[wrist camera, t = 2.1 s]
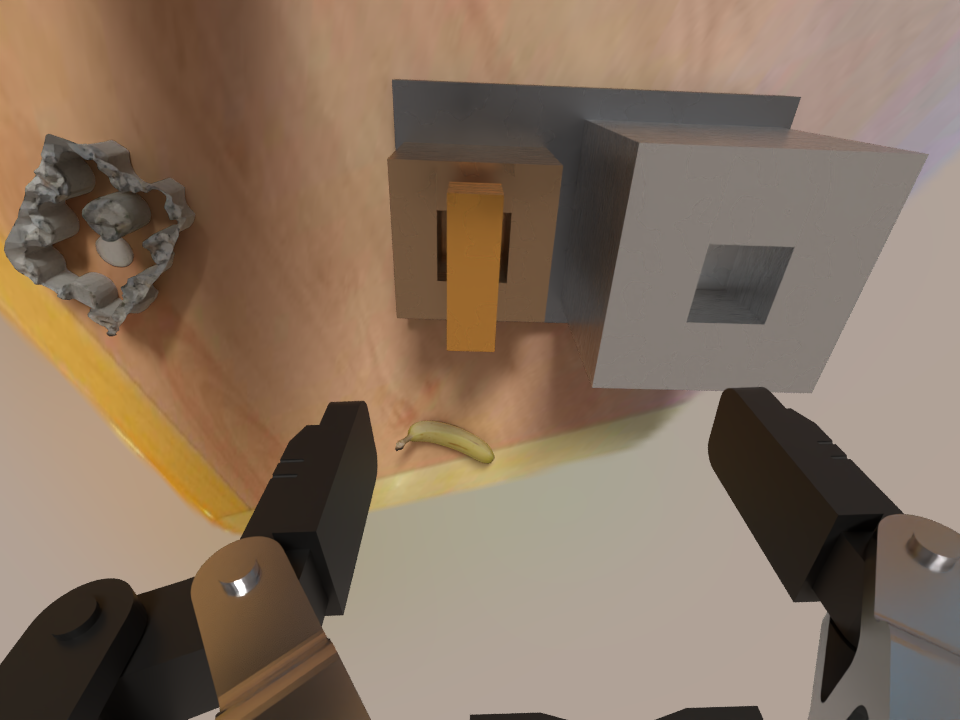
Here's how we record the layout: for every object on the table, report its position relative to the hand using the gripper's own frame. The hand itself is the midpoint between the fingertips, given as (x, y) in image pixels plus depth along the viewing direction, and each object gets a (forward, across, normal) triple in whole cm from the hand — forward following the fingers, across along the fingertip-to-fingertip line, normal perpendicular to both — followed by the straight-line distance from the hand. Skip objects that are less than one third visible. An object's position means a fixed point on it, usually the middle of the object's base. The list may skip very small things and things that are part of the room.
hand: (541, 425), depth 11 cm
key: (+19, +2, 0) cm, 19 cm away
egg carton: (+23, +24, +1) cm, 33 cm away
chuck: (+22, -5, +1) cm, 23 cm away
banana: (+22, +4, +18) cm, 29 cm away
